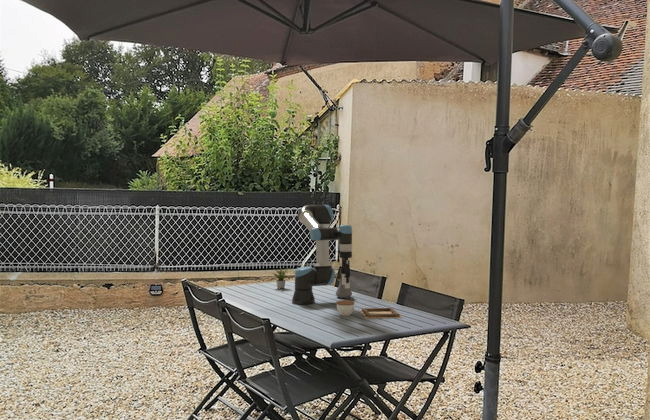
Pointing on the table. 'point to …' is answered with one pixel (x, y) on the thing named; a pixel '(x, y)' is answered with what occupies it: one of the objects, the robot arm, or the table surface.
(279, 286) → the house plant
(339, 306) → the lidded jar
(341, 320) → the table surface
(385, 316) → the wooden square tray
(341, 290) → the coffee pot
